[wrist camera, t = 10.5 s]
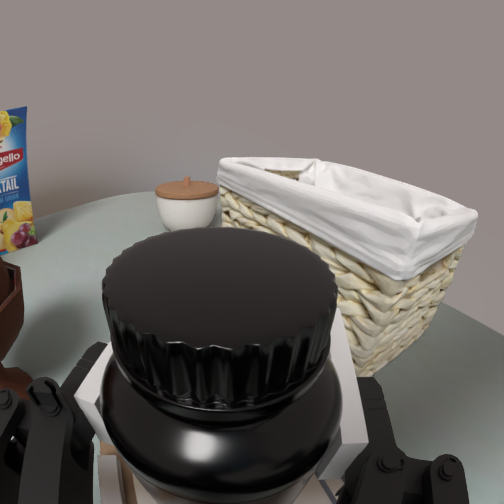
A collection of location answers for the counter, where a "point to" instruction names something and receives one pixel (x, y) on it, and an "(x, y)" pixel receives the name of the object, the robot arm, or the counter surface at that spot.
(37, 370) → the counter surface
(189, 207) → the lidded jar
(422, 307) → the storage basket
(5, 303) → the ice cream bowl
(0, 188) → the juice carton
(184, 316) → the supplement bottle
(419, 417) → the counter surface
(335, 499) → the clipboard
